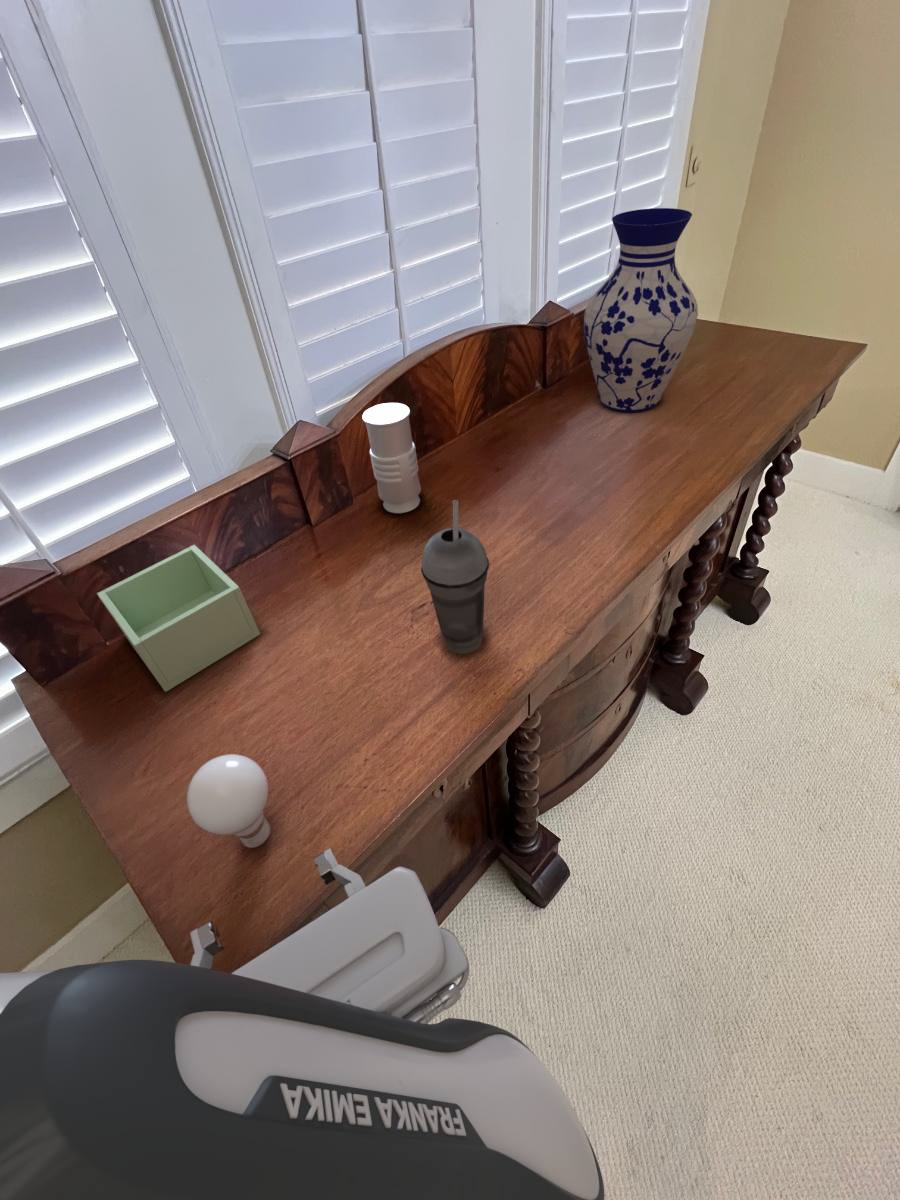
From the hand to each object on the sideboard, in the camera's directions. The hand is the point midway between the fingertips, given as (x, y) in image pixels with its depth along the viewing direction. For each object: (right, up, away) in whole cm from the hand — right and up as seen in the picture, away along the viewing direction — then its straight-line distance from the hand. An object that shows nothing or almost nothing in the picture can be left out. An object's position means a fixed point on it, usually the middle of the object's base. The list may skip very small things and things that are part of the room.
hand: (265, 890), depth 44 cm
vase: (+48, +60, +68) cm, 103 cm away
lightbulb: (-4, 0, +10) cm, 11 cm away
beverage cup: (+16, +17, +26) cm, 35 cm away
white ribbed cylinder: (+6, +37, +49) cm, 62 cm away
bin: (-19, +17, +31) cm, 40 cm away
